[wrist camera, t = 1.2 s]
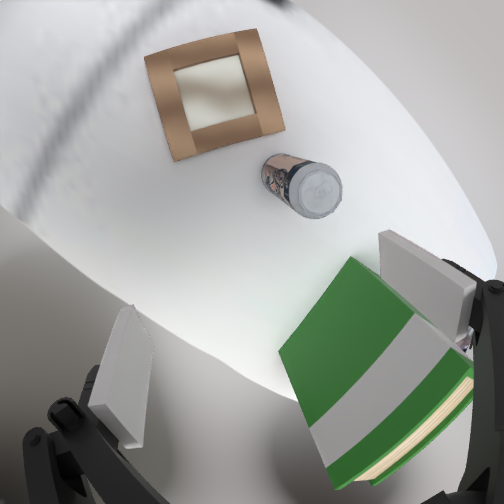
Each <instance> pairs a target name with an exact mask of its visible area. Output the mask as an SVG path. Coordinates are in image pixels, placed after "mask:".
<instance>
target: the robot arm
mask: <svg viewBox="0 0 504 504" xmlns="http://www.w3.org/2000/svg"><path fill="white" fill-rule="evenodd" d="M378 235H379V251H380V272H381V278H382V279H383V280H384V281H385V282H386V283H387V284H389V285H390V286H391V287H392V288H393V289H394V290H396V291H397V292H398V293H399V294H400V295H401V296H402V297H404V298H405V299H406V300H407V301H408V302H409V303H410V304H412V305H413V306H414V307H415V308H416V309H417V310H418V311H419V312H421V313H422V314H423V315H424V316H425V317H426V318H427V319H428V320H429V321H430V322H432V323H433V324H434V325H435V326H436V327H437V328H438V329H439V330H440V331H441V332H442V333H443V334H445V335H446V336H447V337H448V338H449V339H450V340H451V341H452V342H453V343H454V344H455V343H456V342H458V341H460V340H461V339H463V338H464V337H466V335H467V331H468V327H469V326H471V327H472V328H473V329H474V331H473V335H472V339H471V343H470V347H469V349H471V348H472V345H473V360H474V361H473V362H474V385H473V410H472V411H473V412H472V423H471V434H470V442H469V450H468V458H467V464H466V469H465V473H464V475H463V477H462V480H461V482H460V484H459V487H458V491H457V492H454V493H450V494H445V492H444V491H441V492H440V493H438V494H436V495H435V496H433V497H431V498H430V499H428V500H426V501H425V502H423V503H421V504H504V282H502V281H499V280H488V281H486V282H485V281H483V280H481V279H480V278H478V277H477V276H475V275H474V274H472V273H471V272H469V271H466V269H464V268H463V267H460V266H459V265H458V264H456V263H454V262H453V261H449V260H446V259H440V258H438V257H436V256H435V255H433V254H431V253H430V252H428V251H426V250H425V249H423V248H421V247H420V246H418V245H416V244H414V243H413V242H411V241H409V240H407V239H406V238H404V237H402V236H400V235H399V234H397V233H395V232H393V231H392V230H387V231H383V232H380V233H378ZM153 350H154V345H153V343H152V342H151V339H150V337H149V336H148V333H147V331H146V330H145V327H144V325H143V323H142V321H141V319H140V317H139V315H138V313H137V311H136V309H135V307H134V305H130V306H126V307H122V308H120V310H119V313H118V316H117V318H116V321H115V324H114V326H113V329H112V332H111V335H110V337H109V340H108V343H107V346H106V349H105V352H104V355H103V358H102V361H101V364H100V365H95V366H94V367H93V368H92V369H91V371H90V372H89V373H88V375H87V378H86V381H85V383H86V384H84V387H83V391H82V393H81V397H80V400H79V403H78V405H77V404H76V402H75V401H73V399H72V398H68V397H65V398H61V399H59V400H57V401H56V402H54V403H53V404H52V405H51V407H50V409H49V410H48V414H47V416H48V420H49V421H50V422H51V423H52V424H53V425H54V426H55V427H56V428H57V429H58V431H55V432H52V433H49V434H48V433H47V432H46V431H45V430H43V429H42V428H41V427H35V428H32V429H31V430H29V431H28V432H27V433H26V435H25V436H24V439H23V457H24V468H25V476H26V484H27V491H28V497H29V502H30V504H96V503H95V500H94V498H93V495H92V492H91V489H90V487H89V484H88V480H89V481H90V483H91V484H92V486H93V487H94V488H95V490H96V491H97V493H98V494H99V496H100V497H101V498H102V500H103V501H104V502H105V503H106V504H170V503H169V502H168V501H167V500H166V499H165V498H163V497H162V496H161V495H160V494H159V493H158V492H157V491H156V490H155V489H154V488H153V487H152V486H151V485H150V484H149V483H148V482H147V481H146V480H145V479H144V477H143V476H142V475H141V474H140V473H139V472H138V471H137V470H136V469H135V468H134V467H133V465H132V464H131V463H130V462H129V461H128V460H127V459H126V458H125V456H124V455H123V454H122V453H121V452H120V451H119V450H118V442H120V443H121V444H122V445H123V446H124V447H125V448H126V449H129V448H139V447H143V438H144V426H145V416H146V406H147V397H148V388H149V380H150V372H151V365H152V357H153ZM86 476H87V477H86ZM87 478H88V480H87Z"/></svg>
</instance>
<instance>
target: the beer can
mask: <svg viewBox="0 0 504 504" xmlns="http://www.w3.org/2000/svg"><path fill="white" fill-rule="evenodd" d="M262 180H263V183H264V185H265V186H266V188H267V189H268V190H269V191H270V192H272V193H273V194H274V195H276V196H277V197H278V198H279V199H281V200H282V201H283V202H285V203H286V204H287V205H288V206H290V207H291V208H292V209H293V210H295V211H296V212H297V213H298V214H300V215H302V216H303V217H305V218H310V219H319V218H323V217H326V216H327V215H329V214H330V213H333V212H334V211H335V209H336V208H337V206H338V205H339V203H340V202H341V201H342V183H341V179H340V177H339V175H338V174H337V173H336V171H335V170H334V169H333V168H331V167H330V166H328V165H326V164H322V163H316V162H313V161H309V160H305V159H301V158H297V157H293V156H290V155H286V154H278V155H275V156H273V157H271V158H270V159H269V160H267V162H266V163H265V164H264V167H263V169H262Z"/></svg>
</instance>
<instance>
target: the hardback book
mask: <svg viewBox="0 0 504 504" xmlns="http://www.w3.org/2000/svg"><path fill="white" fill-rule="evenodd" d="M278 352H279V354H280V357H281V359H282V362H283V364H284V367H285V369H286V372H287V374H288V377H289V379H290V382H291V384H292V387H293V389H294V392H295V394H296V396H297V399H298V401H299V404H300V406H301V409H302V411H303V414H304V416H305V419H306V421H307V424H308V426H309V428H310V431H311V433H312V436H313V438H314V441H315V443H316V446H317V448H318V450H319V453H320V455H321V458H322V460H323V462H324V465H325V467H326V470H327V472H328V475H329V477H330V479H331V481H332V484H333V487H334V489H335V490H337V489H342V488H343V487H345V486H346V485H348V484H349V483H351V482H352V481H359V480H369V482H370V484H371V486H376V485H377V484H379V483H380V482H382V481H383V480H384V479H386V478H387V477H389V476H390V475H391V474H393V473H394V472H395V471H397V470H398V469H399V468H400V467H402V466H403V465H404V464H405V463H407V462H408V461H409V460H411V459H412V458H413V457H414V456H415V455H416V454H418V453H419V452H420V451H421V450H422V449H424V448H425V447H426V446H427V445H428V444H429V443H430V442H431V441H433V440H434V439H435V438H436V437H437V436H438V435H439V434H440V433H441V432H442V431H443V430H444V429H445V428H446V427H447V426H448V425H449V424H450V423H451V422H452V421H453V420H454V419H455V418H456V417H457V416H458V415H459V414H460V413H461V412H462V411H463V410H464V409H465V408H466V407H467V406H468V405H469V404H470V403H471V401H472V400H473V385H474V362H473V361H472V360H471V359H470V358H469V357H468V356H467V355H466V354H465V353H464V352H463V351H462V350H461V349H460V348H459V347H458V346H457V345H456V344H454V343H453V342H452V341H451V340H450V339H449V338H448V337H447V336H446V335H445V334H443V333H442V332H441V331H440V330H439V329H438V328H437V327H436V326H435V325H434V324H433V323H432V322H430V321H429V320H428V319H427V318H426V317H425V316H424V315H423V314H422V313H421V312H419V311H418V310H417V309H416V308H415V307H414V306H413V305H412V304H410V303H409V302H408V301H407V300H406V299H405V298H404V297H402V296H401V295H400V294H399V293H398V292H397V291H396V290H394V289H393V288H392V287H391V286H390V285H389V284H387V283H386V282H385V281H384V280H383V279H382V278H381V277H380V276H379V275H377V274H376V273H374V272H373V271H371V270H370V269H369V268H367V267H366V266H364V265H363V264H361V263H360V262H358V261H357V260H355V259H354V258H353V257H351V256H350V258H349V259H348V260H347V262H346V263H345V265H344V266H343V267H342V269H341V270H340V272H339V273H338V274H337V276H336V277H335V279H334V280H333V281H332V283H331V284H330V285H329V287H328V288H327V290H326V291H325V292H324V294H323V295H322V296H321V298H320V299H319V300H318V302H317V303H316V304H315V306H314V307H313V308H312V309H311V311H310V312H309V313H308V315H307V316H306V317H305V319H304V320H303V321H302V322H301V324H300V325H299V326H298V328H297V329H296V330H295V331H294V333H293V334H292V335H291V336H290V338H289V339H288V340H287V341H286V343H285V344H284V345H283V346H282V348H281V349H280V350H279V351H278Z"/></svg>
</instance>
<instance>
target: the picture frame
mask: <svg viewBox="0 0 504 504" xmlns="http://www.w3.org/2000/svg"><path fill="white" fill-rule="evenodd" d="M144 60H145V64H146V68H147V71H148V75H149V79H150V82H151V86H152V90H153V93H154V97H155V100H156V104H157V107H158V111H159V114H160V117H161V121H162V124H163V128H164V131H165V134H166V138H167V141H168V144H169V147H170V151H171V154H172V157H173V160H174V162H176V161H179V160H182V159H185V158H188V157H191V156H194V155H197V154H201V153H204V152H207V151H210V150H214V149H217V148H220V147H224V146H227V145H231V144H234V143H238V142H242V141H245V140H249V139H253V138H257V137H260V136H264V135H268V134H272V133H277V132H281V131H285V126H284V122H283V118H282V114H281V111H280V107H279V103H278V99H277V96H276V92H275V88H274V85H273V81H272V78H271V74H270V71H269V67H268V64H267V61H266V57H265V54H264V51H263V47H262V44H261V41H260V37H259V34H258V31H257V28H256V29H250V30H244V31H239V32H233V33H228V34H224V35H219V36H214V37H210V38H206V39H202V40H198V41H194V42H190V43H187V44H183V45H180V46H176V47H173V48H169V49H166V50H163V51H160V52H157V53H154V54H151V55H148V56H145V57H144Z"/></svg>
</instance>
